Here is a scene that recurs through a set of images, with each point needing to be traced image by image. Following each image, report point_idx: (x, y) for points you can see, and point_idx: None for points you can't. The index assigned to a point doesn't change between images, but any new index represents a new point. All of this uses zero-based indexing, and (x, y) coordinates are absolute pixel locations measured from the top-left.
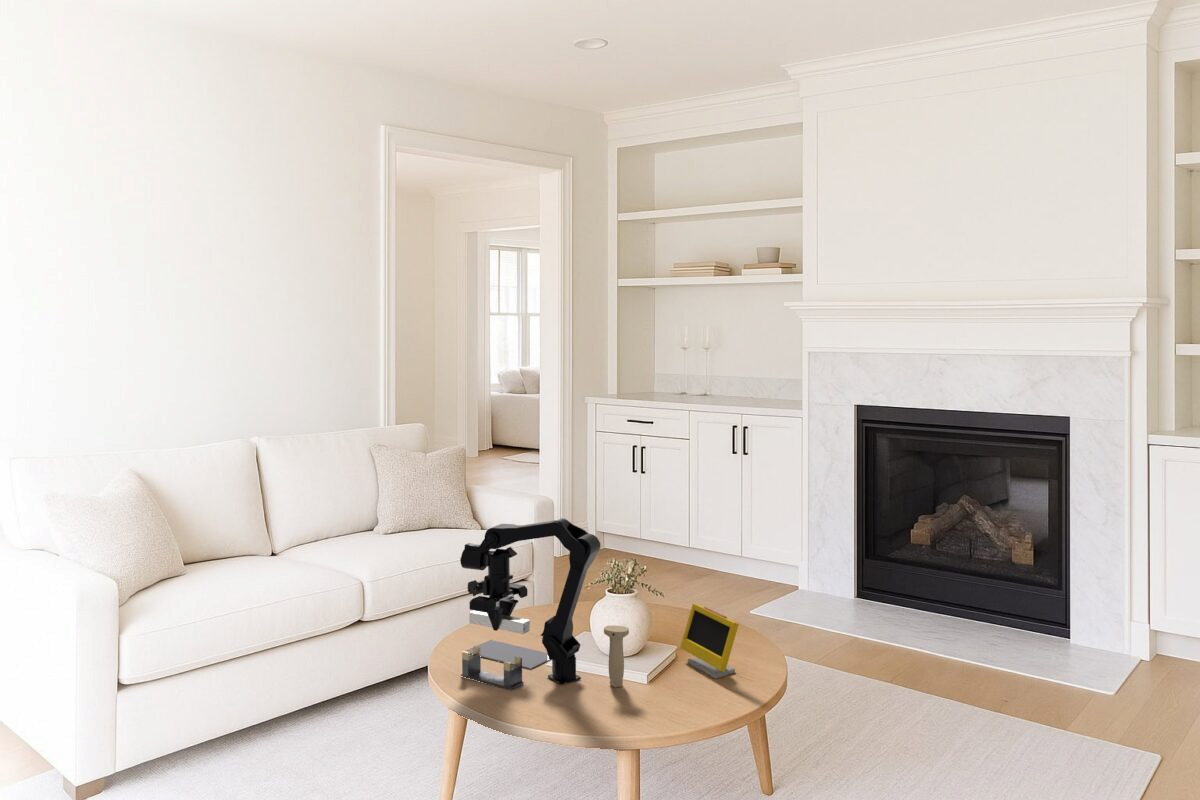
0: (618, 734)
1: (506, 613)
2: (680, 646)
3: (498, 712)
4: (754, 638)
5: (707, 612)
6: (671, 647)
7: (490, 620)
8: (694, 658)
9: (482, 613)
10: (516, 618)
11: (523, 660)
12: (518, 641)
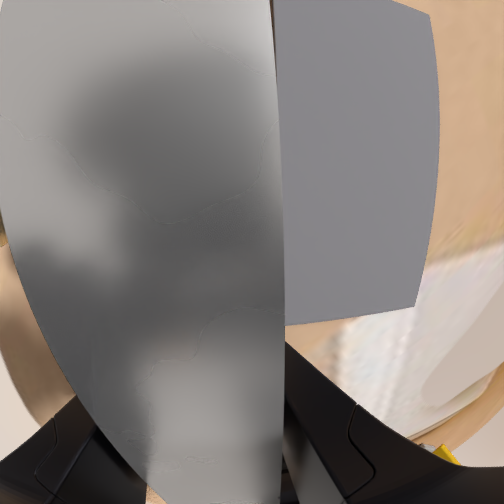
0: (149, 500)
1: (301, 489)
2: (441, 448)
3: (35, 398)
4: (496, 412)
5: None
6: (477, 395)
7: (66, 411)
8: (426, 449)
9: (63, 158)
10: None
11: (331, 255)
12: (470, 107)
